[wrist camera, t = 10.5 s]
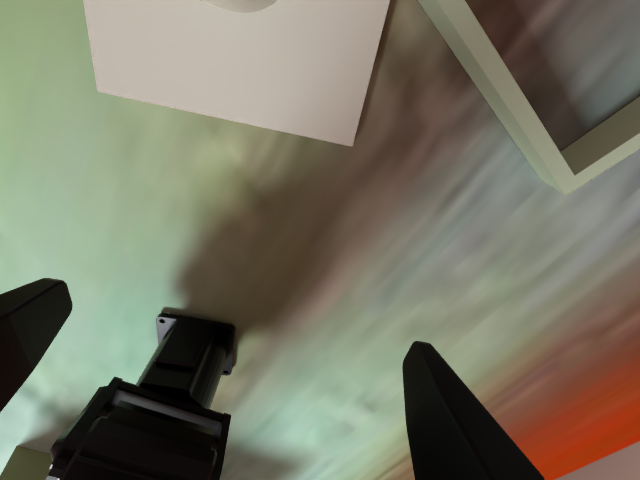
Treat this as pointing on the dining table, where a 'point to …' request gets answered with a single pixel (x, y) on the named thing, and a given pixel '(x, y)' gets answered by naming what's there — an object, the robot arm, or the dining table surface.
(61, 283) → the robot arm
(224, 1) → the pink plastic bottle
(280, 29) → the plate
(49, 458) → the grocery bag
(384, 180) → the dining table surface
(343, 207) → the dining table surface
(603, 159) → the holder
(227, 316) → the dining table surface
